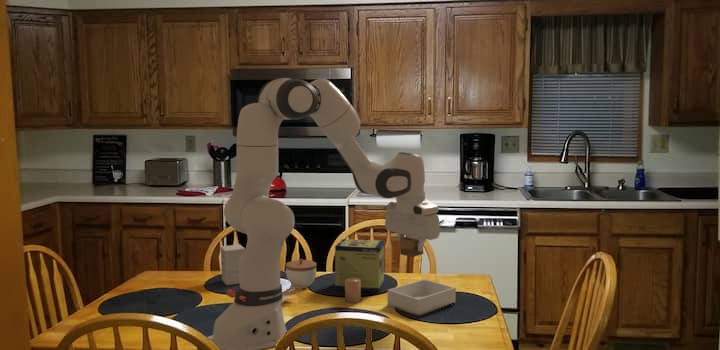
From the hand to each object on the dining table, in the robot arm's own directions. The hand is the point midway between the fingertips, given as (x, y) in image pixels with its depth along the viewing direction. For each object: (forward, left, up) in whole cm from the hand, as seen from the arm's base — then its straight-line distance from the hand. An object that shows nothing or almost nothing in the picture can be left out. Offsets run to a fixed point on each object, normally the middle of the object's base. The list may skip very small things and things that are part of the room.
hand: (411, 249), depth 198 cm
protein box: (+3, +27, -19) cm, 33 cm away
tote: (+5, 0, -19) cm, 19 cm away
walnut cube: (0, 0, -2) cm, 2 cm away
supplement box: (-26, +62, -19) cm, 70 cm away
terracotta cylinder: (-9, +17, -19) cm, 27 cm away
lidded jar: (-11, +42, -19) cm, 47 cm away
